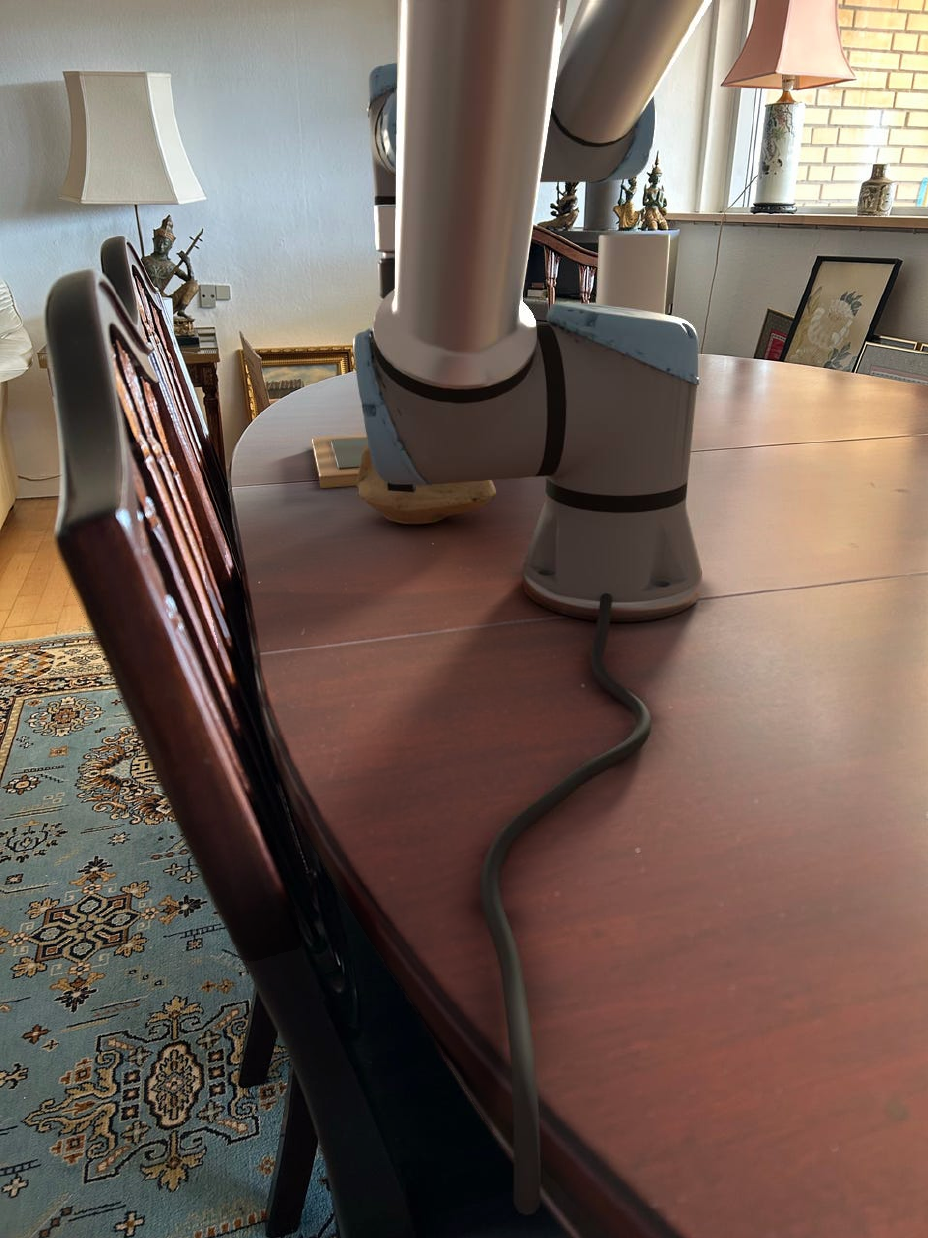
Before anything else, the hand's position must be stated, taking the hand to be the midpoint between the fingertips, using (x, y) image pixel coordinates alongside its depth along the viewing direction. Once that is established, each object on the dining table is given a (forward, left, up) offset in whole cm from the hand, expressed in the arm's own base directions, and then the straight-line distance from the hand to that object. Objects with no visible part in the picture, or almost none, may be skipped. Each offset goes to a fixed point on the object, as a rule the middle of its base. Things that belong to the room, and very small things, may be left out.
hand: (424, 471), depth 94 cm
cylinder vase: (+88, -9, -5) cm, 88 cm away
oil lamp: (0, 0, -5) cm, 5 cm away
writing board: (+20, +14, -5) cm, 25 cm away
